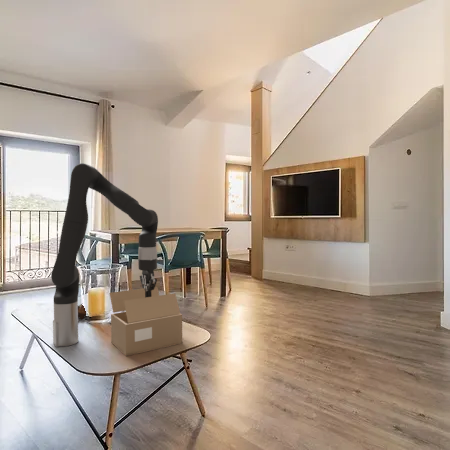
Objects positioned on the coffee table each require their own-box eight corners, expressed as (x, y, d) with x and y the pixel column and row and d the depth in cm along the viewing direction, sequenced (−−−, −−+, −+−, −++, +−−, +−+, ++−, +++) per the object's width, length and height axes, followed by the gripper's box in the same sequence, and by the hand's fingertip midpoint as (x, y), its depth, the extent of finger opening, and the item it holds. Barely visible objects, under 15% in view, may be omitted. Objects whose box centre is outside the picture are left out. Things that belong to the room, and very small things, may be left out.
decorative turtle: (67, 318, 184) (67, 303, 184) (95, 315, 194) (95, 300, 195) (74, 321, 177) (75, 305, 177) (103, 317, 187) (104, 302, 188)
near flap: (128, 323, 135) (128, 322, 135) (123, 300, 138) (124, 300, 138) (179, 313, 147) (180, 313, 147) (174, 293, 151) (175, 293, 150)
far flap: (161, 304, 162) (161, 305, 162) (157, 286, 166) (156, 287, 166) (113, 312, 149) (113, 312, 150) (109, 292, 153) (109, 293, 153)
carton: (126, 356, 134) (125, 324, 134) (111, 342, 149) (110, 314, 149) (182, 343, 148) (182, 314, 148) (163, 331, 163) (163, 305, 163)
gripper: (133, 257, 149) (133, 298, 150) (145, 260, 139) (146, 304, 139) (149, 255, 154) (150, 295, 154) (163, 258, 143) (163, 301, 143)
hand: (148, 299), depth 147 cm, fingers closed
